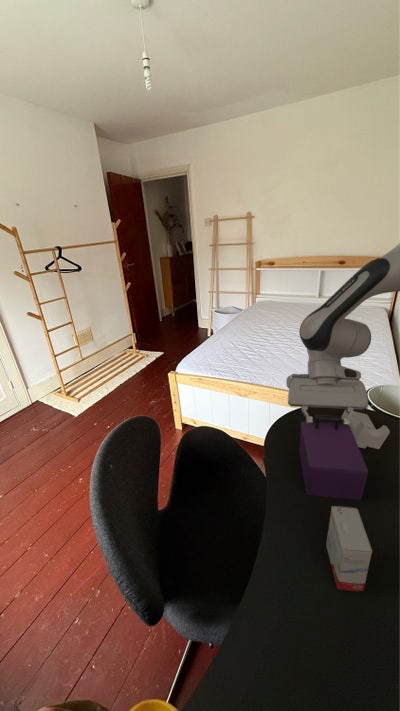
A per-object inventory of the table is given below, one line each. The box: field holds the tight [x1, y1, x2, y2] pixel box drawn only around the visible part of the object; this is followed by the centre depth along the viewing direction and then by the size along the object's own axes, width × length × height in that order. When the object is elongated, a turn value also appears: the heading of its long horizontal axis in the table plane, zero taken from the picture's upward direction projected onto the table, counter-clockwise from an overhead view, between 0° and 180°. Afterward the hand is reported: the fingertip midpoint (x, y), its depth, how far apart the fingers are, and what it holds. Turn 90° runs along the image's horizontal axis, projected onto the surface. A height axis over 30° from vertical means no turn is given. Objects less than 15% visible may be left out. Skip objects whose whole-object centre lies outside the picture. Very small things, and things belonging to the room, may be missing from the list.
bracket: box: [340, 409, 391, 450], centre depth 90 cm, size 13×7×8 cm, turn 171°
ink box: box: [325, 505, 373, 592], centre depth 56 cm, size 9×5×12 cm, turn 171°
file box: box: [298, 426, 368, 501], centre depth 77 cm, size 16×13×9 cm
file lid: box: [300, 414, 369, 475], centre depth 74 cm, size 16×13×5 cm
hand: (327, 424), depth 79 cm, fingers open, 8 cm apart
